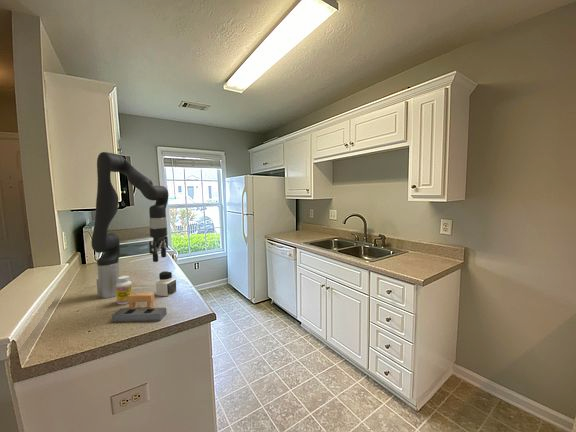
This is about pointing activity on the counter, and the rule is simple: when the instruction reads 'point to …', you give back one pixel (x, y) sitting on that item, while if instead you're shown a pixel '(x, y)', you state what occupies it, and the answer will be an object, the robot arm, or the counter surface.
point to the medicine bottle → (165, 284)
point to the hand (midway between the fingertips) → (159, 259)
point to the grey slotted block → (139, 314)
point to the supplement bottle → (123, 289)
